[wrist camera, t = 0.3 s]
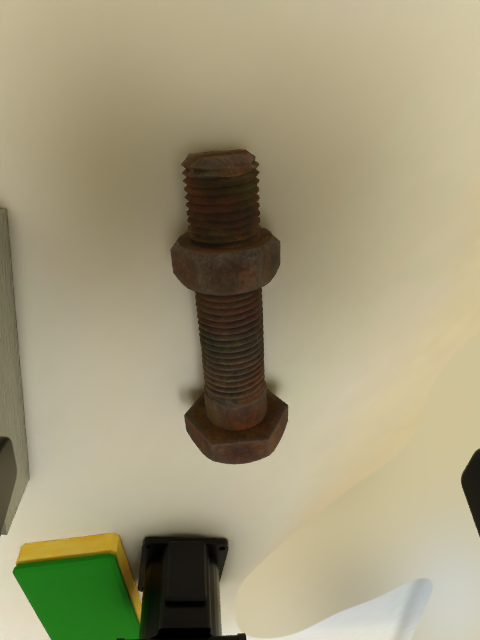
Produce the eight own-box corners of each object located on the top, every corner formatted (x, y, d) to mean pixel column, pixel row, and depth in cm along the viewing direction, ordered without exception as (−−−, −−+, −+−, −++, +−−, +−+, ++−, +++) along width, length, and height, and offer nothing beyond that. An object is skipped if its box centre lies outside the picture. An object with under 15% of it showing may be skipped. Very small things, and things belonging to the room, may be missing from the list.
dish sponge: (119, 527, 33) (113, 559, 30) (149, 621, 40) (146, 651, 38) (22, 538, 32) (10, 571, 30) (70, 631, 39) (63, 663, 37)
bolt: (230, 141, 21) (244, 389, 28) (133, 154, 19) (175, 421, 26) (314, 151, 17) (305, 440, 24) (202, 169, 14) (229, 485, 22)
